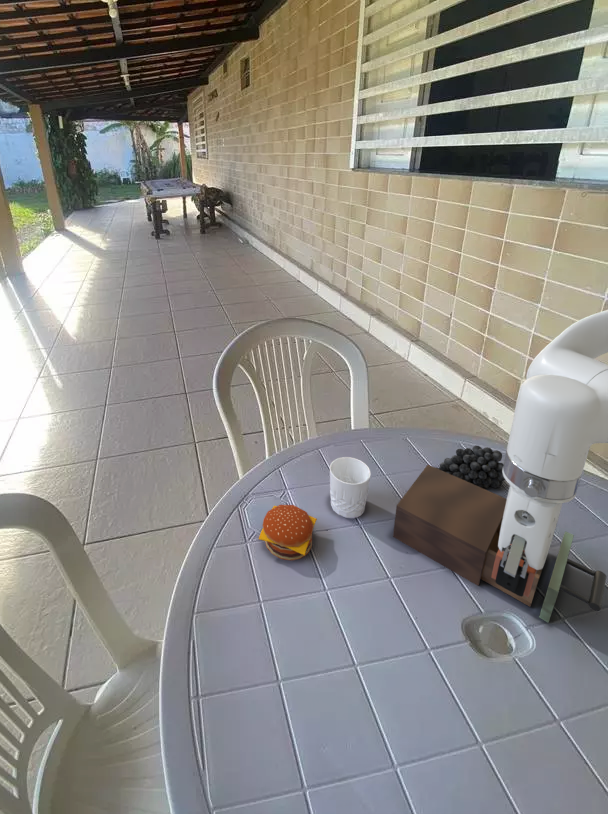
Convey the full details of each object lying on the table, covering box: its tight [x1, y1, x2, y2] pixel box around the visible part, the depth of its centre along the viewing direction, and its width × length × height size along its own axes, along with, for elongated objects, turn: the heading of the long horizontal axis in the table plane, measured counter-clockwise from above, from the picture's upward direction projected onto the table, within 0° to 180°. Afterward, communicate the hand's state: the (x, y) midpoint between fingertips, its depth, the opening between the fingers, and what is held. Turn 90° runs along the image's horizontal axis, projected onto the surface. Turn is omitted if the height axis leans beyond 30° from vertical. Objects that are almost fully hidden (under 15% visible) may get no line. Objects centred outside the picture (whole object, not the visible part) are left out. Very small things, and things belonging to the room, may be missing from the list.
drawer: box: [480, 521, 607, 623], centre depth 70 cm, size 18×13×7 cm
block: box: [491, 544, 537, 598], centre depth 58 cm, size 4×4×4 cm
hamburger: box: [258, 504, 318, 561], centre depth 80 cm, size 9×10×7 cm
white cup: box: [329, 456, 372, 519], centre depth 86 cm, size 8×8×10 cm
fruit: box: [436, 445, 506, 489], centre depth 92 cm, size 9×8×15 cm
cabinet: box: [392, 464, 507, 587], centre depth 78 cm, size 15×15×9 cm
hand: (514, 574), depth 59 cm, fingers closed on block, 4 cm apart
